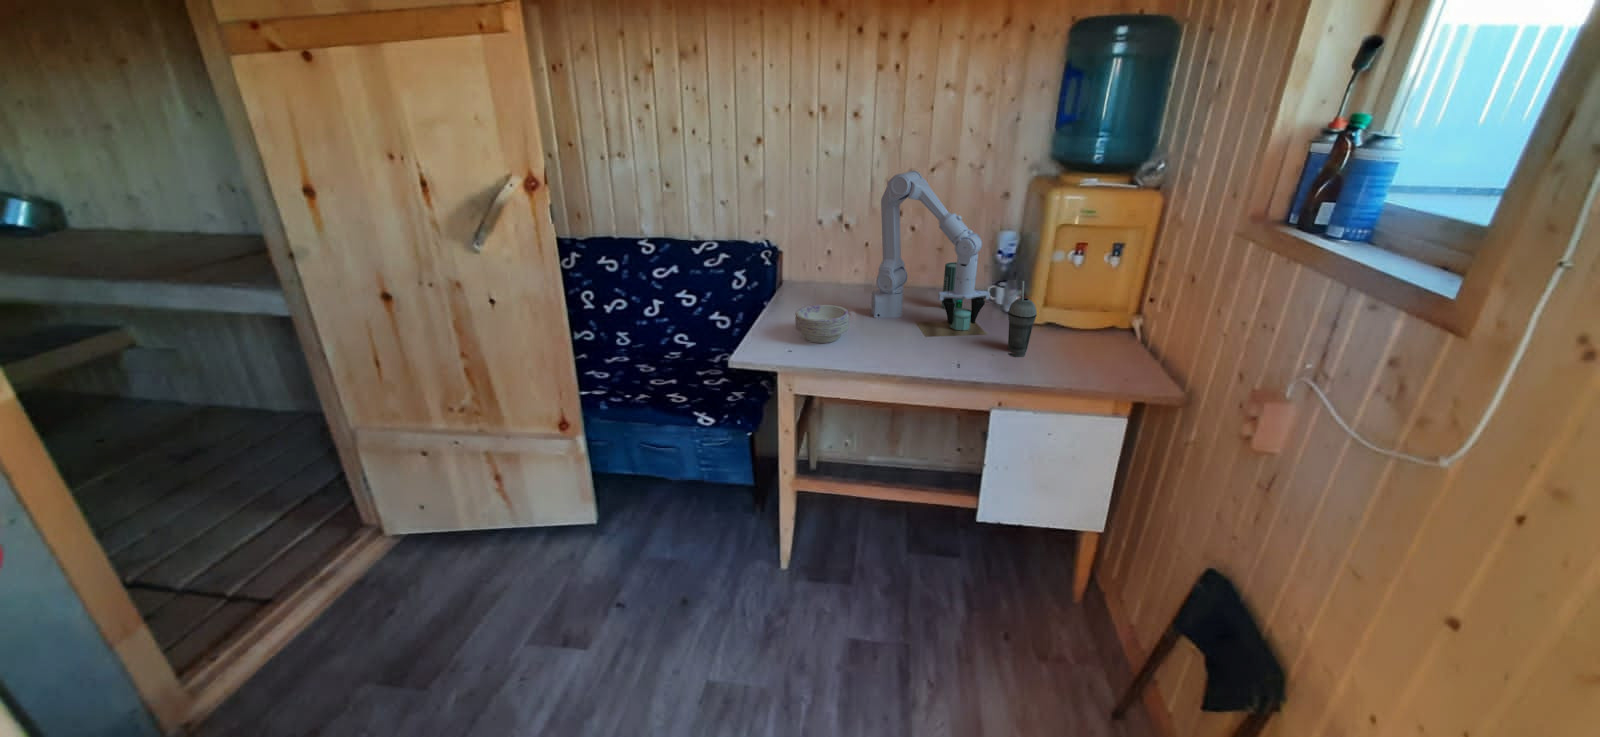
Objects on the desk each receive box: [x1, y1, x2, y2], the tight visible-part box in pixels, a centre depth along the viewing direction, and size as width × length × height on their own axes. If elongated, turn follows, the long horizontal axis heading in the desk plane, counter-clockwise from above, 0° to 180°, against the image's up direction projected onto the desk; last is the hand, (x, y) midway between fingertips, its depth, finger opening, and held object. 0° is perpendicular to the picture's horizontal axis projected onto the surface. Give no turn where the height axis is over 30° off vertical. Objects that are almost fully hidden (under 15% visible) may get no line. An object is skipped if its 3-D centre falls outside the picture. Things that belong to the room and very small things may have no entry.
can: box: [941, 261, 964, 310], centre depth 207 cm, size 6×6×15 cm
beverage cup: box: [1007, 280, 1038, 358], centre depth 173 cm, size 7×7×20 cm
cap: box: [950, 307, 971, 330], centre depth 191 cm, size 5×5×5 cm
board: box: [914, 320, 988, 338], centre depth 192 cm, size 18×12×1 cm, turn 95°
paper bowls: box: [794, 304, 850, 344], centre depth 187 cm, size 15×15×8 cm
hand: (961, 322), depth 191 cm, fingers open, 6 cm apart
